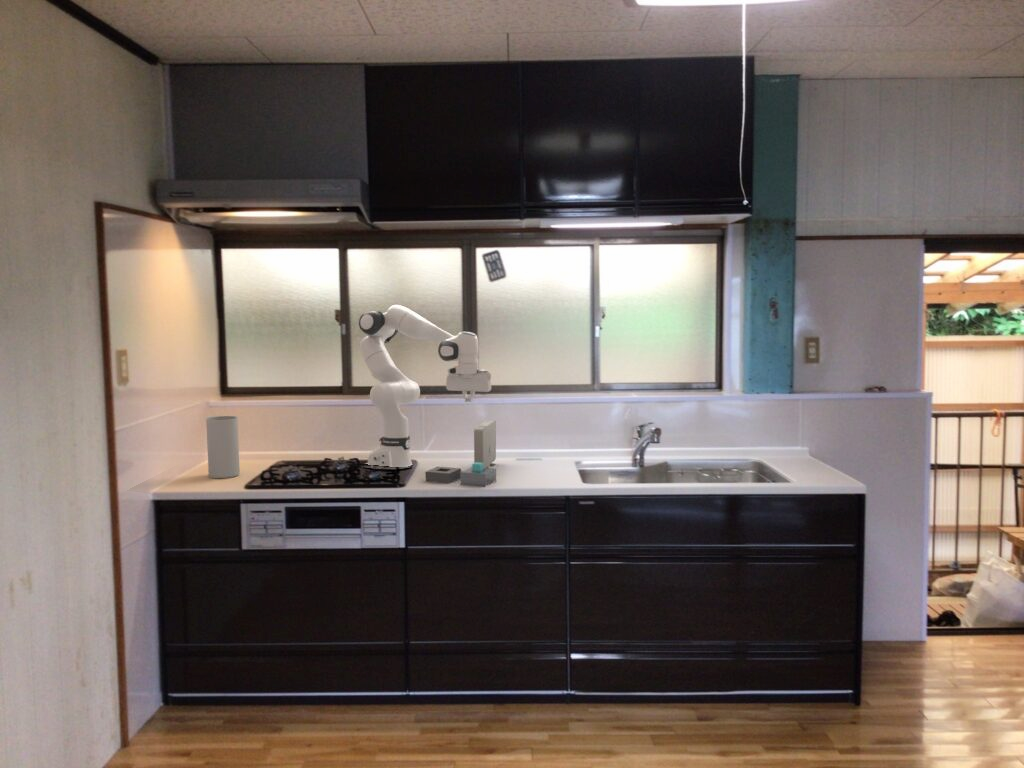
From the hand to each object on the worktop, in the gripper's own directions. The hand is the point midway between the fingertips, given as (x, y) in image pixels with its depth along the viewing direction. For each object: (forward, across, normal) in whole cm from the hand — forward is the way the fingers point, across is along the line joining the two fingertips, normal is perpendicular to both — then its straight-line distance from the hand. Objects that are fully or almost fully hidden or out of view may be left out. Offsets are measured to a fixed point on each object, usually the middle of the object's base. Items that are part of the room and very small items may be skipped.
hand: (468, 401), depth 331 cm
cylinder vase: (+31, +96, +43) cm, 110 cm away
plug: (+31, -11, +16) cm, 37 cm away
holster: (+31, +5, +16) cm, 35 cm away
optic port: (+31, -11, +16) cm, 37 cm away
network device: (+31, -3, -10) cm, 33 cm away
